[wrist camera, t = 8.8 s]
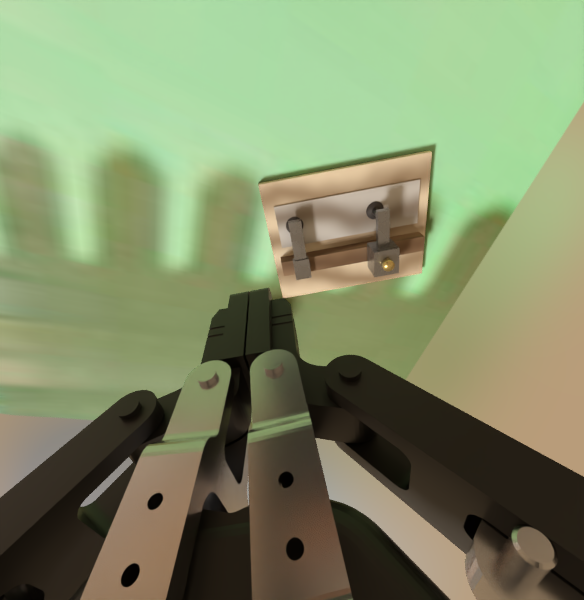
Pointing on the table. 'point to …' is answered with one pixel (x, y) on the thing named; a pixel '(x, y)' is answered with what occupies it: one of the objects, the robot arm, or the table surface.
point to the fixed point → (299, 250)
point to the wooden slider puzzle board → (348, 220)
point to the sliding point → (383, 247)
